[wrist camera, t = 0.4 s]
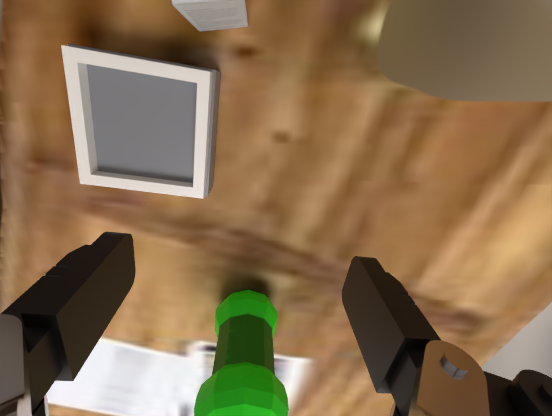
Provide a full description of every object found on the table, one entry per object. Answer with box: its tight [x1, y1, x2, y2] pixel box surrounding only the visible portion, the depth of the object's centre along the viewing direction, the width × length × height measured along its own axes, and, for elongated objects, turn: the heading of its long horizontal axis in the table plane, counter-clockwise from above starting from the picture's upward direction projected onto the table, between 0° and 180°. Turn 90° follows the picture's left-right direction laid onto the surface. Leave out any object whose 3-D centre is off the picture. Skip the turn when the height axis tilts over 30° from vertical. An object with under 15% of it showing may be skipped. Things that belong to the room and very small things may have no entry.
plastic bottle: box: [194, 290, 289, 416], centre depth 34 cm, size 10×10×25 cm
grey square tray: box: [61, 43, 221, 198], centre depth 30 cm, size 14×14×6 cm
